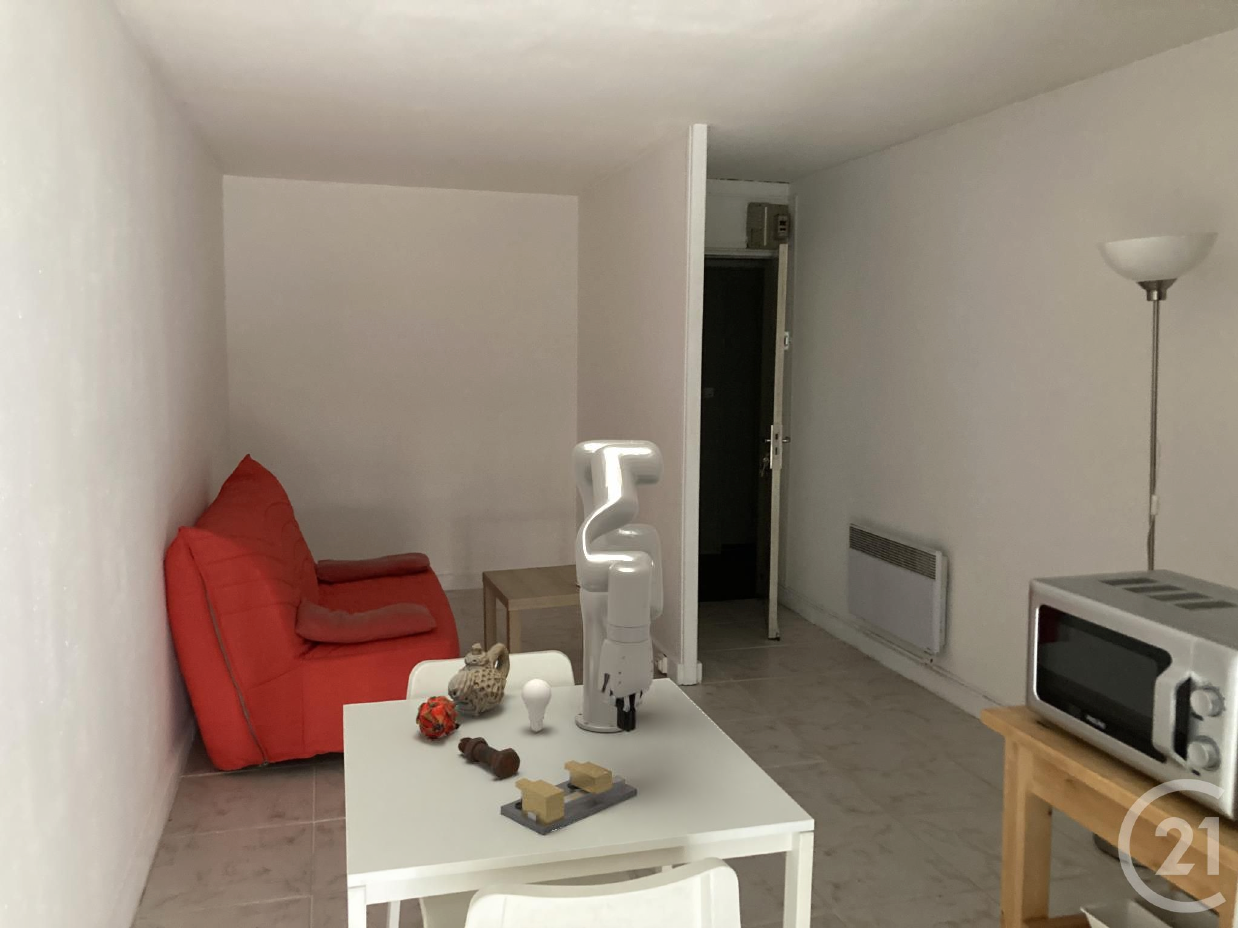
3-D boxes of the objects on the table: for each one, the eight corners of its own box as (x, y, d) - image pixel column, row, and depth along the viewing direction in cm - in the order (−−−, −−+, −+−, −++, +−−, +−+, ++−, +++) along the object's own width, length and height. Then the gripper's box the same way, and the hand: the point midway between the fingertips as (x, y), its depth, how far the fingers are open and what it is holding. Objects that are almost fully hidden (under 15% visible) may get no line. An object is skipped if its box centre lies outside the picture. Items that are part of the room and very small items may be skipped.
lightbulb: (556, 729, 212) (556, 677, 210) (542, 738, 206) (542, 686, 205) (530, 724, 214) (531, 673, 213) (516, 733, 209) (516, 681, 207)
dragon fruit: (440, 730, 214) (441, 760, 203) (407, 710, 212) (406, 740, 200) (465, 699, 213) (467, 728, 202) (431, 679, 211) (432, 707, 199)
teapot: (474, 731, 210) (473, 660, 208) (427, 721, 215) (427, 652, 213) (526, 700, 229) (527, 634, 228) (483, 692, 234) (483, 628, 232)
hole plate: (594, 776, 188) (594, 745, 187) (637, 794, 180) (637, 762, 180) (500, 813, 172) (500, 779, 172) (543, 835, 165) (543, 800, 164)
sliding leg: (576, 778, 183) (576, 756, 182) (612, 793, 176) (612, 771, 176) (560, 784, 180) (560, 762, 179) (595, 800, 174) (595, 777, 173)
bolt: (467, 761, 199) (512, 784, 188) (448, 754, 196) (492, 776, 185) (479, 733, 200) (524, 753, 189) (460, 725, 197) (505, 745, 186)
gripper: (642, 617, 188) (639, 711, 191) (583, 635, 178) (581, 733, 181) (672, 627, 183) (669, 723, 186) (613, 645, 173) (611, 747, 176)
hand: (626, 728), depth 184 cm, fingers closed
